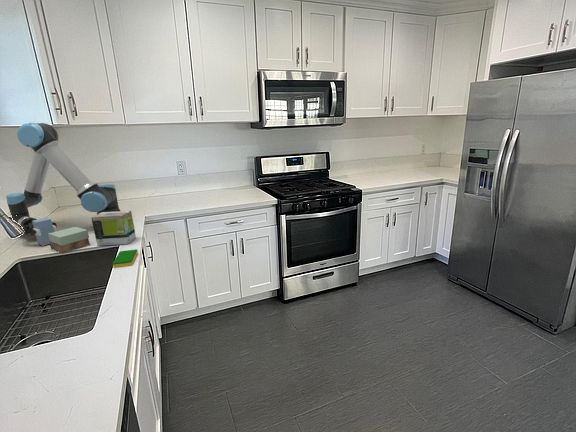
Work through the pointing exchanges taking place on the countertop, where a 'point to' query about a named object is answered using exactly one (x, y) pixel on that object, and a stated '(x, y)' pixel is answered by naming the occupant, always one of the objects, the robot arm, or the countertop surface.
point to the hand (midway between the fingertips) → (47, 230)
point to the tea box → (113, 228)
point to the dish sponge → (125, 258)
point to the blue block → (43, 230)
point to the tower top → (68, 235)
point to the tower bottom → (69, 246)
